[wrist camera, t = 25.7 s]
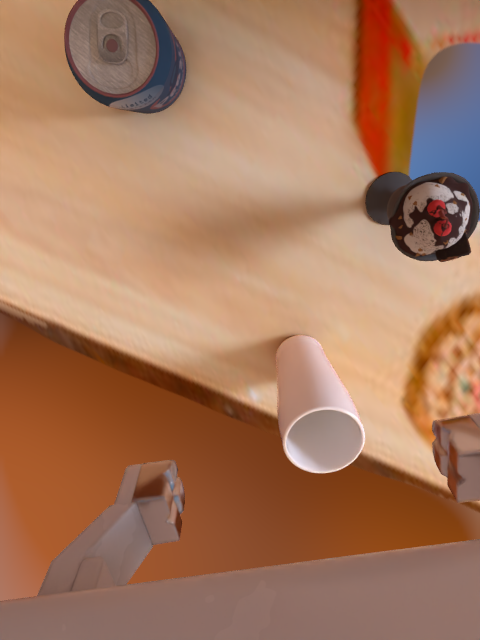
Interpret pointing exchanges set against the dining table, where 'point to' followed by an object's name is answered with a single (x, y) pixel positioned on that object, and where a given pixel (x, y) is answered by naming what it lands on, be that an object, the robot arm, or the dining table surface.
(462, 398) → the dining table surface
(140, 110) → the soda can
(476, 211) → the sundae
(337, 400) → the white tall cylinder
